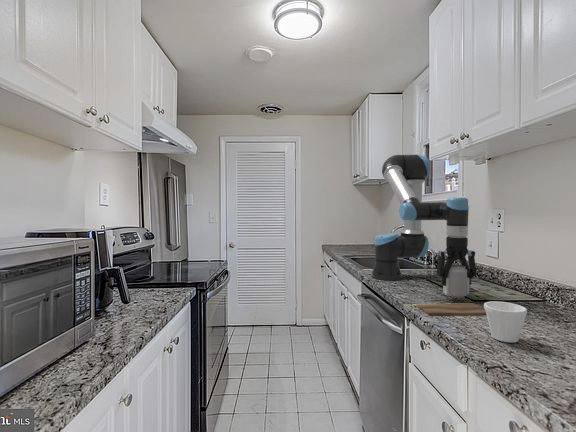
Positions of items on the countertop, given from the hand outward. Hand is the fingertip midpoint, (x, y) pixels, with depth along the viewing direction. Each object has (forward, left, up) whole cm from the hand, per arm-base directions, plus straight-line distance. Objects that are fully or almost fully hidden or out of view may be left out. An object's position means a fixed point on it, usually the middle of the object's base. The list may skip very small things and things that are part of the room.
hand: (456, 293), depth 126 cm
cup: (+38, -7, -3) cm, 38 cm away
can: (0, 0, -1) cm, 1 cm away
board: (+13, -8, -3) cm, 15 cm away
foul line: (+6, -8, -3) cm, 10 cm away
